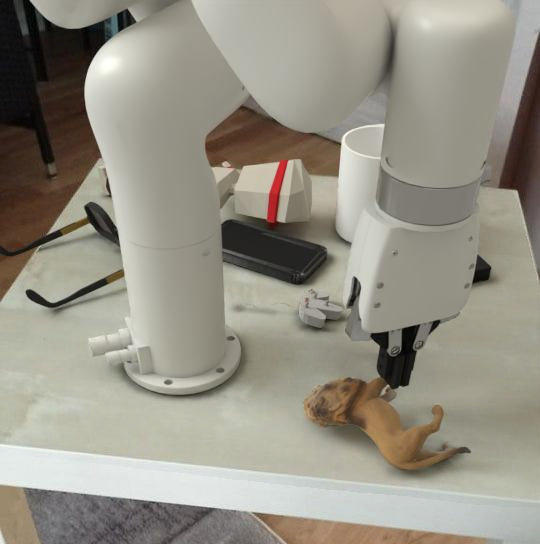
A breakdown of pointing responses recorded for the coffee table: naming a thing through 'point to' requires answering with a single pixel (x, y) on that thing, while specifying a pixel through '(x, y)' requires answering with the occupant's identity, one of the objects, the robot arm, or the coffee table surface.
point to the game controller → (316, 308)
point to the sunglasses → (94, 217)
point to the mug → (357, 176)
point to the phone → (270, 251)
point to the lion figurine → (377, 420)
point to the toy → (260, 190)
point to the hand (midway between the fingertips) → (392, 378)
